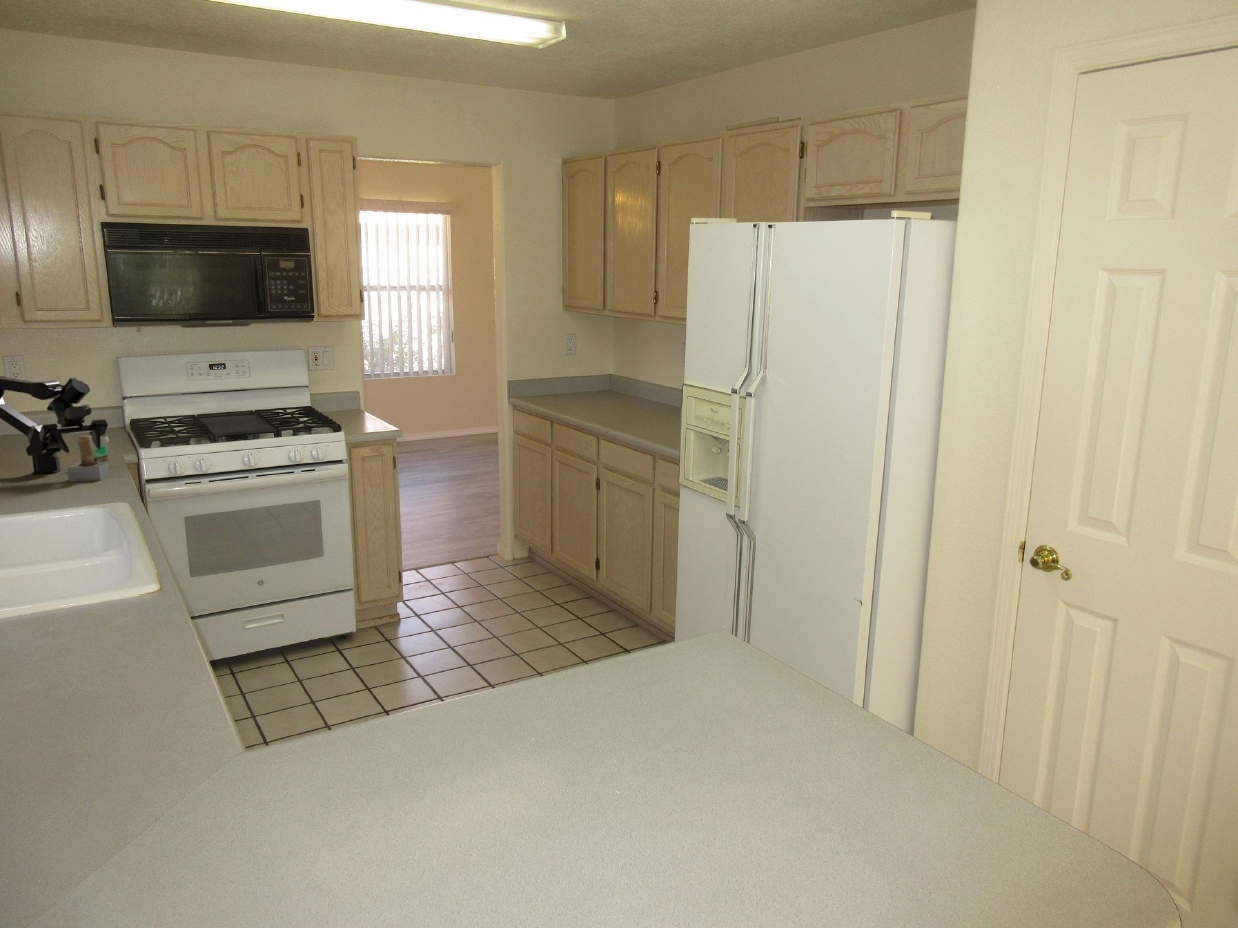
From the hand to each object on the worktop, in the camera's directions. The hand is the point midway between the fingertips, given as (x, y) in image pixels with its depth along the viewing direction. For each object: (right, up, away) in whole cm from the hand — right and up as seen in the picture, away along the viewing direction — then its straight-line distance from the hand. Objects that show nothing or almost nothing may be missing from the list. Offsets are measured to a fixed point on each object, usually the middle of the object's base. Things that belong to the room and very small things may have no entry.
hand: (84, 450), depth 279 cm
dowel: (+1, -8, +1) cm, 8 cm away
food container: (-9, -5, +23) cm, 25 cm away
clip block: (+1, -9, +1) cm, 9 cm away
